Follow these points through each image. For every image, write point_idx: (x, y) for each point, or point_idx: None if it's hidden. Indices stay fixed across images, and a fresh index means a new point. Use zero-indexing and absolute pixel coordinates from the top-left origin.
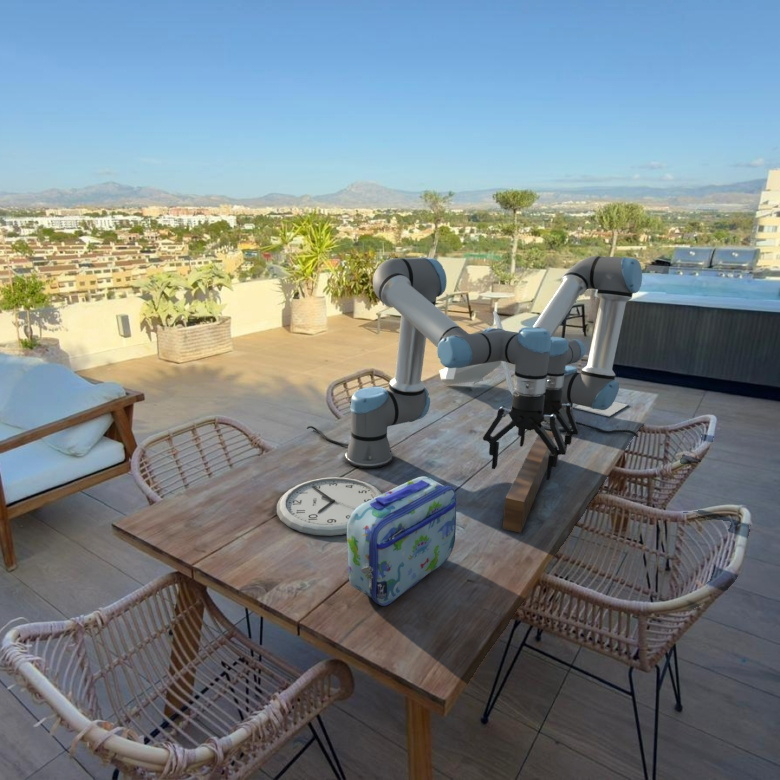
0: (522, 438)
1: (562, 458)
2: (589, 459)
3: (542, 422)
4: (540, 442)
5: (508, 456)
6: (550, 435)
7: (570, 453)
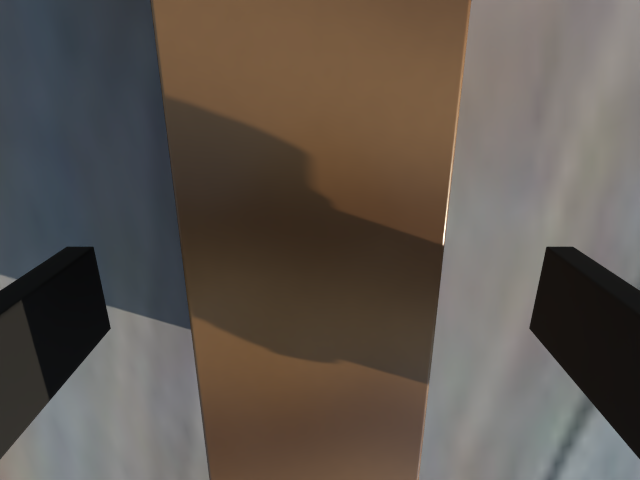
0: (621, 296)
1: (185, 360)
2: None
3: None
4: (339, 100)
5: (591, 217)
6: (243, 469)
7: (158, 454)
